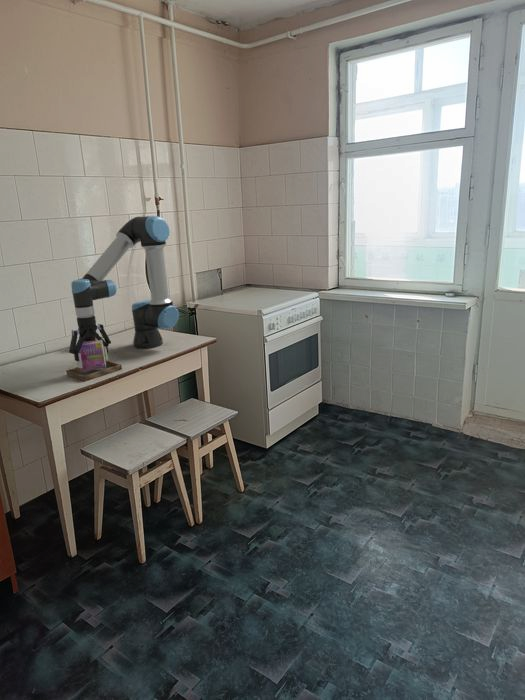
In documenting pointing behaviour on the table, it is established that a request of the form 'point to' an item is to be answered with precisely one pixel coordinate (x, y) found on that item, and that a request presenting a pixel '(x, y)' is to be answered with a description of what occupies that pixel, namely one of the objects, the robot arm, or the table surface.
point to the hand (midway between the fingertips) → (93, 363)
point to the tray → (93, 371)
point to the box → (92, 355)
